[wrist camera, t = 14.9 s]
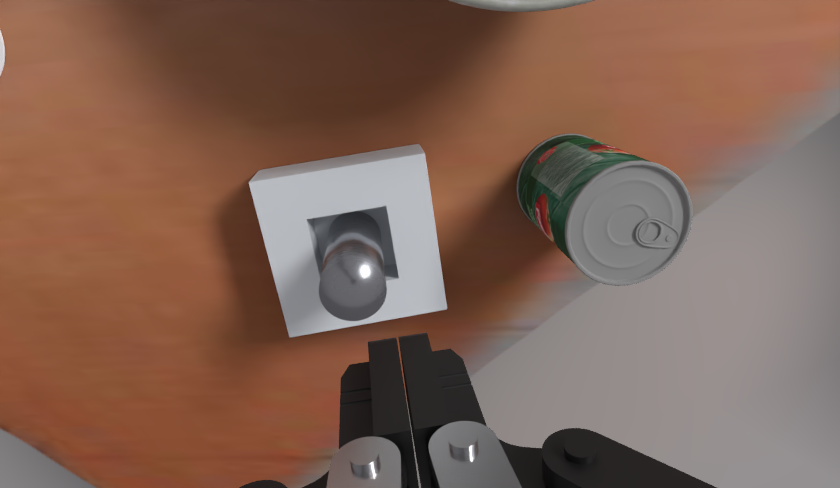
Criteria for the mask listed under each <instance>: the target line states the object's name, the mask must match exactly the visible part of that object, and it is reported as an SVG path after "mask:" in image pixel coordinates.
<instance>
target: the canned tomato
mask: <svg viewBox="0 0 840 488" xmlns="http://www.w3.org/2000/svg"><path fill="white" fill-rule="evenodd" d="M516 191H517V198H518V201H519V204H520V207H521V209H522V211H523V212H524V214H525V215H526V217H527V218H528V219H529V220H531V221H532V222H533V223H534V224H535V225H536V226H537V227H538V228H539V229H540V230H541V231H542V232H543V233H544V234H545V235H546V236H547V237H548V238H549V239H550V240H551V241H552V242H553V243H554V244H555V245H556V246H557V247H558V248H559V249H560V250H561V251H562V252H563V253H564V254H565V255H566V256H567V257H568V258H569V259H570V260H571V261H572V262H573V263H574V264H575V265H576V267H577V268H578V269H580V270H581V271H582V272H583V273H584V274H585V275H586V276H588V277H590V278H591V279H593V280H595V281H597V282H600V283H603V284H608V285H615V286H620V285H630V284H635V283H639V282H641V281H644V280H647V279H649V278H651V277H653V276H654V275H656V274H658V273H659V272H661V271H662V270H663V269H665V268H666V267H667V266H668V265H669V264H670V263H671V262H672V261H673V260H674V259H675V258H676V256H677V255H678V254H679V253H680V251H681V249H682V248H683V246H684V244H685V242H686V240H687V238H688V235H689V232H690V229H691V223H692V217H693V216H692V203H691V199H690V195H689V192H688V190H687V188H686V186H685V184H684V183H683V182H682V181H681V179H680V178H679V177H678V176H677V175H676V174H675V173H673V172H672V171H671V170H669V169H668V168H667V167H664V166H662V165H660V164H657V163H654V162H650V161H647V160H645V159H643V158H640V157H637V156H635V155H632V154H630V153H627V152H625V151H622V150H619V149H617V148H614V147H611V146H609V145H606V144H604V143H601V142H599V141H596V140H594V139H592V138H589V137H587V136H584V135H579V134H562V135H557V136H554V137H551V138H549V139H547V140H545V141H543V142H542V143H540V144H539V145H538V146H536V147H535V148H534V149H533V150H532V151H531V152H530V153H529V155H528V156H527V157H526V159H525V160H524V162H523V164H522V166H521V168H520V171H519V174H518V178H517V188H516Z"/></svg>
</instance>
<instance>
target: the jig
mask: <svg viewBox="0 0 840 488" xmlns="http://www.w3.org/2000/svg"><path fill="white" fill-rule="evenodd" d="M249 186H250V190H251V194H252V197H253V201H254V205H255V209H256V213H257V216H258V220H259V224H260V228H261V232H262V235H263V239H264V243H265V247H266V250H267V254H268V258H269V262H270V266H271V269H272V273H273V277H274V281H275V284H276V288H277V292H278V296H279V300H280V303H281V307H282V311H283V315H284V318H285V322H286V326H287V330H288V334H289V337H296V336H301V335H307V334H313V333H318V332H324V331H329V330H335V329H340V328H346V327H352V326H357V325H363V324H368V323H374V322H379V321H385V320H391V319H396V318H402V317H407V316H413V315H418V314H424V313H430V312H435V311H441V310H446V309H447V304H446V297H445V290H444V283H443V276H442V269H441V262H440V255H439V248H438V241H437V234H436V227H435V220H434V213H433V206H432V199H431V192H430V185H429V178H428V171H427V164H426V157H425V153H424V151H423V149H422V148H421V146H420V144H414V145H408V146H402V147H396V148H390V149H384V150H377V151H371V152H365V153H359V154H353V155H347V156H341V157H335V158H329V159H323V160H317V161H311V162H305V163H299V164H293V165H286V166H280V167H274V168H268V169H262V170H259V171H258V172H257V173H256V174H255V175H254V177H253V178H252V179H251V180H250V181H249ZM353 211H359V212H363V213H366V214H368V215H369V216H371V217H372V218H373V219H374V220H375V221H376V222H377V224H378V226H379V228H380V232H381V241H382V250H383V259H384V268H385V278H386V287H387V294H386V298H385V301H384V303H383V305H382V307H381V308H380V309H379V310H378V311H377V312H376V313H375V314H374V315H372V316H371V317H369V318H366V319H364V320H360V321H346V320H341V319H339V318H337V317H335V316H333V315H331V314H330V313H329V312H328V311H327V310H326V309H325V308H324V306H323V305H322V303H321V300H320V297H319V283H320V278H321V272H322V266H323V261H324V255H325V249H326V244H327V238H328V232H329V228H330V226H331V224H332V222H333V221H334V220H335V219H336V218H337V217H338V216H339V215H341V214H343V213H347V212H353Z"/></svg>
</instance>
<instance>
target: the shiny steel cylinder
mask: <svg viewBox="0 0 840 488" xmlns="http://www.w3.org/2000/svg"><path fill="white" fill-rule="evenodd" d="M386 294H387V287H386V278H385V268H384V259H383V250H382V241H381V232H380V228H379V226H378V224H377V222H376V221H375V220H374V219H373V218H372V217H371V216H369V215H368V214H366V213H363V212H359V211H353V212H347V213H343V214H341V215H339V216H338V217H337V218H336V219H335V220H334V221H333V222H332V224H331V226H330V228H329V232H328V238H327V244H326V249H325V255H324V261H323V266H322V272H321V278H320V283H319V297H320V300H321V303H322V305H323V306H324V308H325V309H326V310H327V311H328V312H329V313H330V314H331V315H333V316H335V317H337V318H339V319H341V320H346V321H360V320H364V319H366V318H369V317H371V316H372V315H374V314H375V313H376V312H377V311H378V310H379V309H380V308H381V307H382V305H383V303H384V301H385V298H386Z"/></svg>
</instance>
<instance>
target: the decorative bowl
mask: <svg viewBox="0 0 840 488" xmlns="http://www.w3.org/2000/svg"><path fill="white" fill-rule="evenodd" d="M448 1H451V2H455V3H458V4H461V5H466V6H471V7H475V8H480V9H487V10H495V11H508V12H532V11H546V10H554V9H561V8H566V7H571V6H575V5H580V4H584V3H587V2H591V1H594V0H448Z"/></svg>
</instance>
